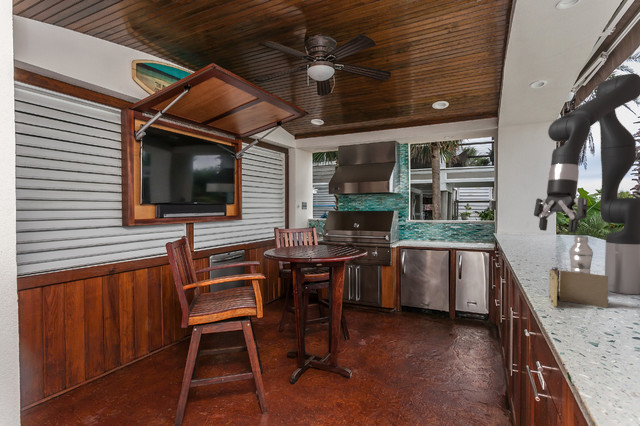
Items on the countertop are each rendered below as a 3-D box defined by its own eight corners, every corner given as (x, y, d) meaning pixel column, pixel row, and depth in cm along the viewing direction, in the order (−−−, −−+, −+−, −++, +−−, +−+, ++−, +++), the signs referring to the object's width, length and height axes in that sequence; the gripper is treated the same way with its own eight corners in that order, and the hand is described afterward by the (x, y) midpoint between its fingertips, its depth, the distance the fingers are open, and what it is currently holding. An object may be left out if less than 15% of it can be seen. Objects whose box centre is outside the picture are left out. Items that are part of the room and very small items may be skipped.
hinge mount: (553, 294, 111) (553, 264, 111) (608, 303, 102) (609, 270, 101) (549, 298, 106) (549, 267, 106) (607, 308, 96) (608, 274, 96)
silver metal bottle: (586, 293, 113) (588, 235, 113) (595, 298, 107) (597, 237, 106) (564, 291, 115) (565, 235, 115) (572, 296, 109) (573, 236, 108)
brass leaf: (546, 295, 108) (547, 268, 108) (558, 297, 106) (558, 269, 106) (552, 305, 97) (552, 275, 97) (564, 307, 95) (565, 277, 95)
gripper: (596, 180, 97) (590, 234, 97) (547, 183, 110) (541, 231, 110) (580, 176, 94) (574, 231, 94) (532, 179, 107) (526, 228, 107)
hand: (556, 231), depth 102 cm, fingers open, 8 cm apart
